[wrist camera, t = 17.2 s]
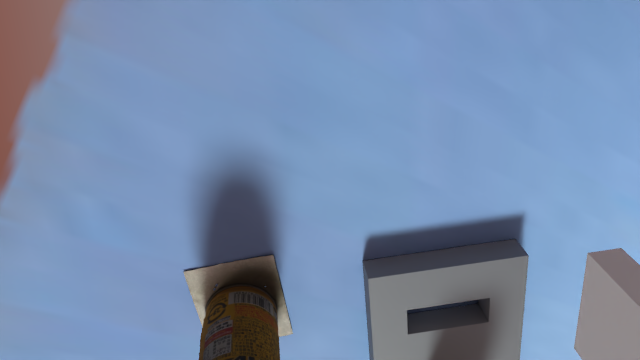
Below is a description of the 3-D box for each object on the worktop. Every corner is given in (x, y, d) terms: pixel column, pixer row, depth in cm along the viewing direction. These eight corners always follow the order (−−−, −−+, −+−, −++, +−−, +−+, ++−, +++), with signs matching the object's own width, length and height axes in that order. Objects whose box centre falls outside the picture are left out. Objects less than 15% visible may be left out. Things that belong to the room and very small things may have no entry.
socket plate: (515, 238, 47) (528, 255, 45) (503, 400, 56) (514, 421, 54) (362, 260, 47) (368, 278, 44) (374, 421, 55) (379, 442, 53)
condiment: (210, 349, 49) (199, 473, 38) (183, 270, 45) (163, 385, 34) (292, 332, 49) (304, 451, 38) (273, 252, 45) (280, 360, 35)
